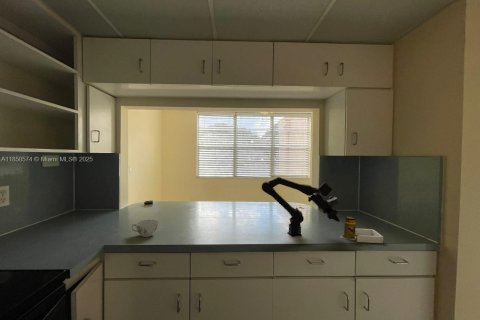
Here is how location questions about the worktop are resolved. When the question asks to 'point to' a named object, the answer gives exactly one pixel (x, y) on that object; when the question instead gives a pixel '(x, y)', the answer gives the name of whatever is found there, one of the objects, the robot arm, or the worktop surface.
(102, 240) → the worktop surface
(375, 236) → the corral
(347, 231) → the condiment
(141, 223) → the teacup
